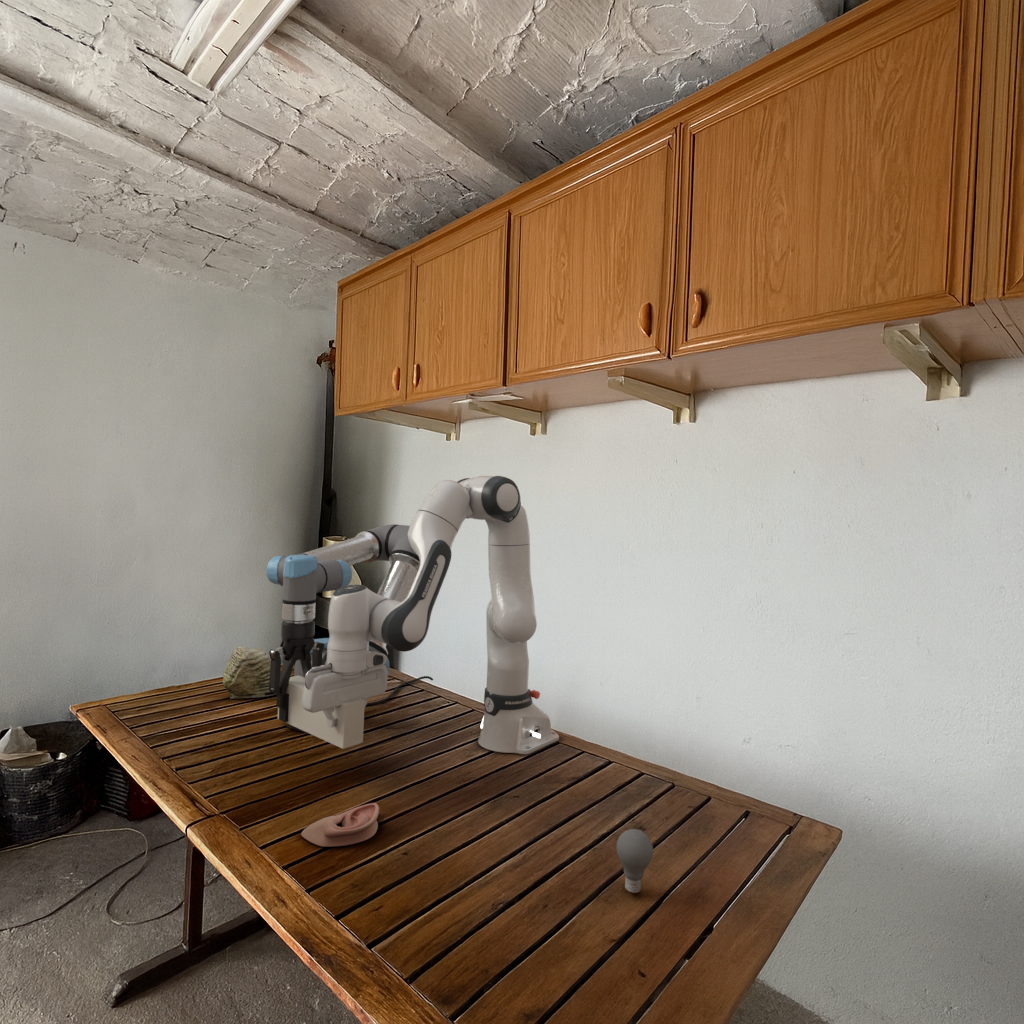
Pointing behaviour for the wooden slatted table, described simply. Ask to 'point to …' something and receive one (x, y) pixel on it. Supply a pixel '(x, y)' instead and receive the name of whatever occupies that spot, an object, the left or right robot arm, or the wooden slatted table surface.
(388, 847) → the wooden slatted table surface
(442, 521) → the right robot arm
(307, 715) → the bar
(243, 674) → the fossil
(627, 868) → the light bulb
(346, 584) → the left robot arm
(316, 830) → the anatomical model
